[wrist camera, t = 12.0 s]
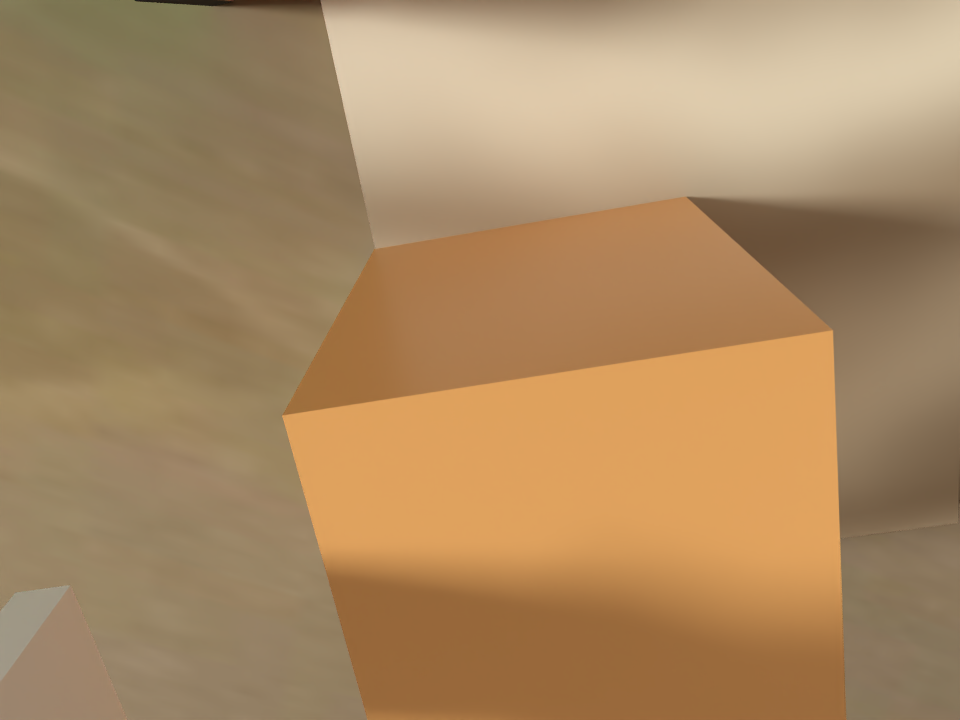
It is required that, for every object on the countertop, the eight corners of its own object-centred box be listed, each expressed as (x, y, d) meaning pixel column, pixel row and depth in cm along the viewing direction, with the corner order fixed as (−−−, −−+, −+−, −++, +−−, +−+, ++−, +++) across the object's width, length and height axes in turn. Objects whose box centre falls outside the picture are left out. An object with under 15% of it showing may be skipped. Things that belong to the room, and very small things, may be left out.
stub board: (292, -178, 18) (180, -289, 12) (948, -314, 17) (1217, -517, 10) (452, 564, 24) (436, 754, 18) (936, 498, 23) (1099, 675, 17)
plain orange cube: (374, 249, 20) (282, 414, 11) (685, 196, 19) (832, 329, 11) (433, 515, 22) (394, 814, 14) (711, 475, 22) (847, 762, 13)
